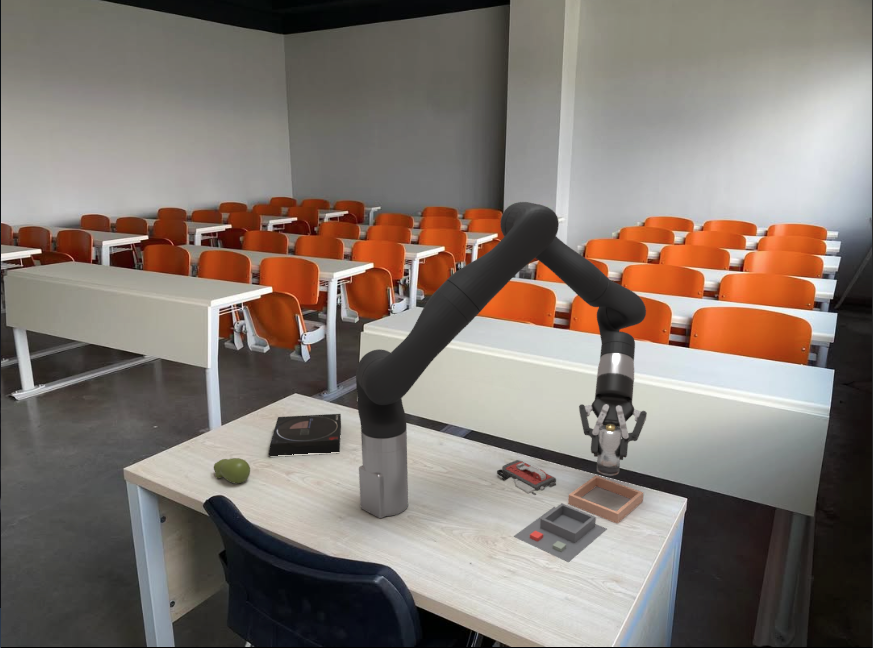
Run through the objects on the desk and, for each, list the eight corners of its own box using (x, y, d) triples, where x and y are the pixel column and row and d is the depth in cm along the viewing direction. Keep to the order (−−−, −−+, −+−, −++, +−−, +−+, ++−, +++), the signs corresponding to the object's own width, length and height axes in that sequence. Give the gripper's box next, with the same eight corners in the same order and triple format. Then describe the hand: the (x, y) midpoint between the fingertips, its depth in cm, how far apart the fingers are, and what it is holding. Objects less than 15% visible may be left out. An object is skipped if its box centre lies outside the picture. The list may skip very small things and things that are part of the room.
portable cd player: (276, 430, 177) (275, 417, 176) (341, 427, 178) (340, 413, 177) (268, 459, 161) (267, 443, 160) (339, 454, 163) (338, 439, 162)
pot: (616, 530, 129) (617, 514, 128) (567, 510, 137) (568, 494, 136) (642, 507, 137) (643, 492, 136) (594, 489, 144) (595, 475, 143)
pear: (232, 466, 145) (205, 461, 151) (237, 488, 146) (210, 483, 152) (252, 456, 149) (225, 451, 155) (257, 478, 150) (230, 473, 156)
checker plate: (568, 569, 118) (569, 552, 117) (513, 543, 125) (513, 526, 125) (606, 535, 128) (607, 519, 127) (553, 513, 135) (554, 498, 134)
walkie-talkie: (489, 480, 150) (555, 517, 135) (489, 462, 149) (556, 498, 133) (517, 468, 155) (584, 503, 140) (517, 451, 154) (585, 484, 139)
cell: (612, 478, 132) (615, 432, 129) (592, 470, 134) (594, 426, 132) (623, 469, 135) (626, 425, 132) (603, 463, 138) (605, 419, 135)
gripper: (580, 368, 139) (571, 446, 131) (651, 374, 134) (646, 455, 127) (581, 383, 145) (573, 458, 137) (649, 390, 141) (645, 467, 133)
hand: (608, 456), depth 132 cm, fingers closed on cell, 4 cm apart
